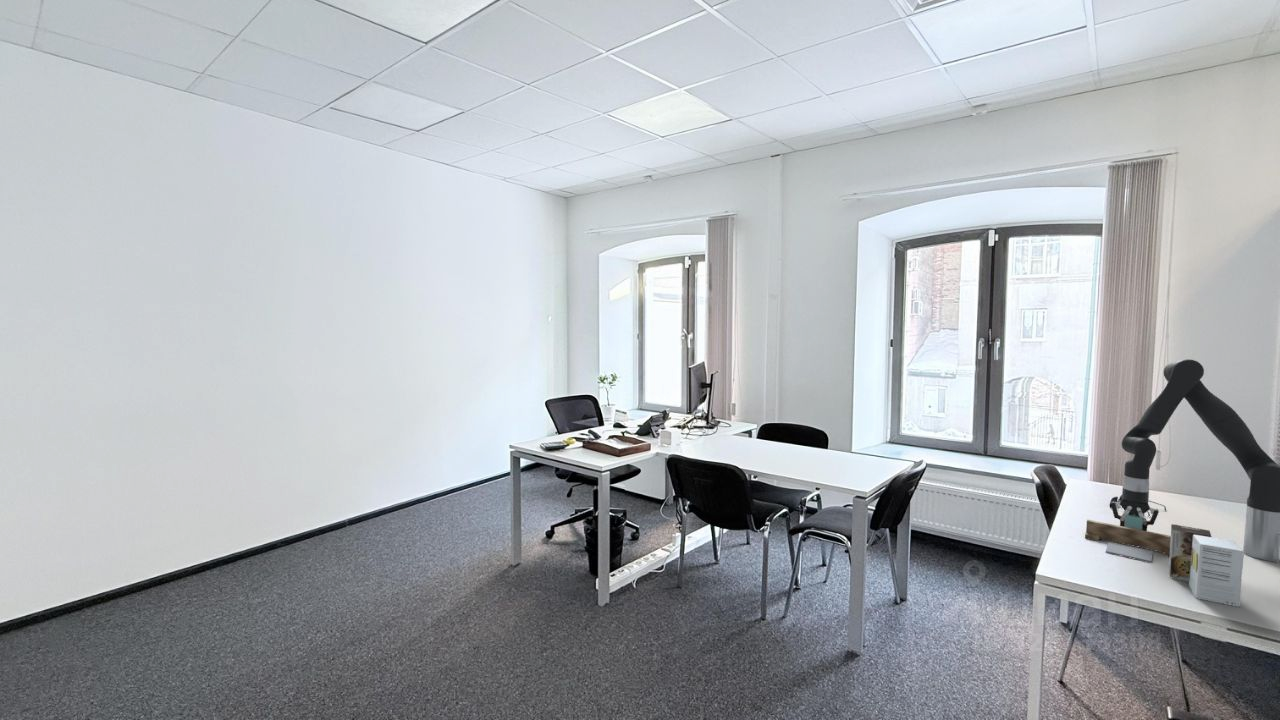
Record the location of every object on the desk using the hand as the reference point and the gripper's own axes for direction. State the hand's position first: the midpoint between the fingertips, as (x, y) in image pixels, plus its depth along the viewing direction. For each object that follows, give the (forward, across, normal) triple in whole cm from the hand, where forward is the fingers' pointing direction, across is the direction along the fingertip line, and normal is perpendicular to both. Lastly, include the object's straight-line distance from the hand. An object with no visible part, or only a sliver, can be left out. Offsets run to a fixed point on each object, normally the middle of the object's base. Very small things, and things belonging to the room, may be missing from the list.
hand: (1132, 531), depth 211 cm
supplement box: (+3, -20, +44) cm, 49 cm away
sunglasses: (+3, +1, -47) cm, 47 cm away
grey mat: (+2, 0, +19) cm, 19 cm away
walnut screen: (+2, 0, +9) cm, 9 cm away
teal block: (+2, 0, 0) cm, 2 cm away
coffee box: (+3, -15, +33) cm, 36 cm away
